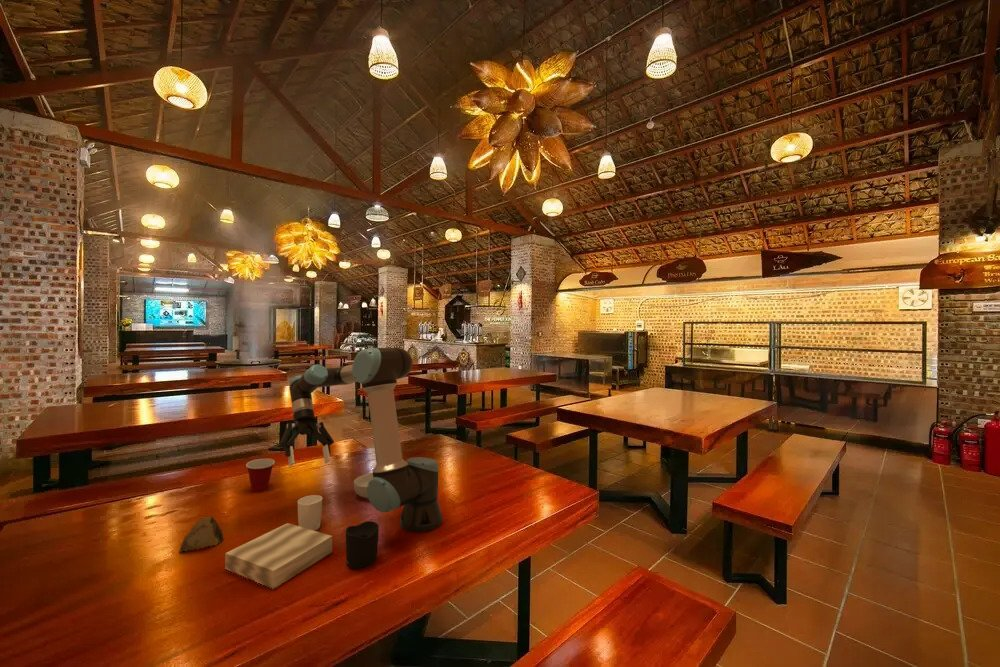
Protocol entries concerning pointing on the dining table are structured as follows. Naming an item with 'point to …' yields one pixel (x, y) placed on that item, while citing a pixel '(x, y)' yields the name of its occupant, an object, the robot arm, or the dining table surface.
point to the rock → (202, 535)
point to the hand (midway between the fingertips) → (310, 463)
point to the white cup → (310, 512)
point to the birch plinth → (278, 554)
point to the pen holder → (362, 545)
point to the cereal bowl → (362, 484)
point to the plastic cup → (260, 473)
